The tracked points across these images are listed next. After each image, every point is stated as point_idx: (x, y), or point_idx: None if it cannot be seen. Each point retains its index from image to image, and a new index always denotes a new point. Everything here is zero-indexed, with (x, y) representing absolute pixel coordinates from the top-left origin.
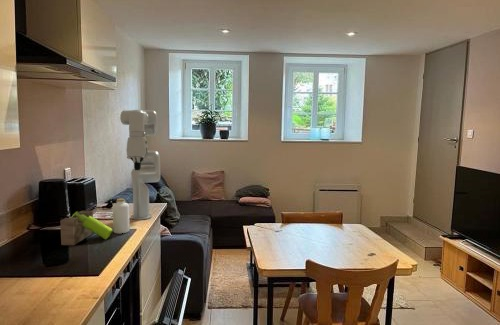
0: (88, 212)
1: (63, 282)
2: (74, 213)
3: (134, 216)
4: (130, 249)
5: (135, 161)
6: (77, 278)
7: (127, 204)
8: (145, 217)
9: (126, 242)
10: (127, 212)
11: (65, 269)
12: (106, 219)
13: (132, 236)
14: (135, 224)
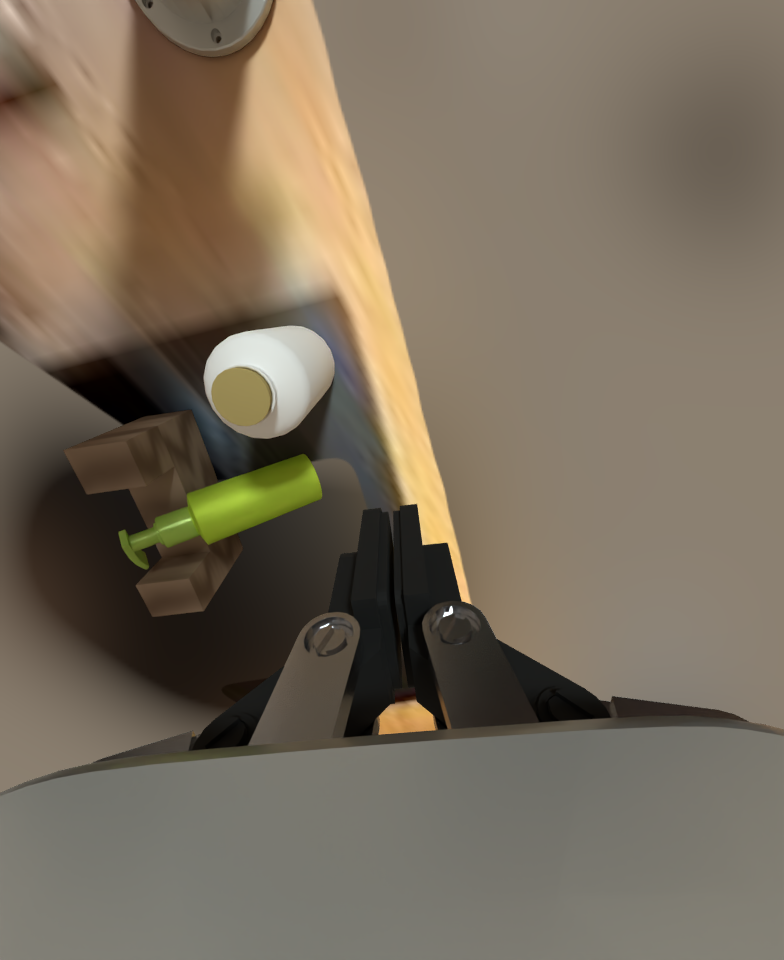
0: (134, 475)
1: (407, 721)
2: (130, 557)
3: (168, 7)
4: (451, 545)
5: (378, 717)
6: (422, 706)
7: (298, 381)
8: (260, 7)
9: (401, 487)
10: (317, 387)
11: None
12: (16, 105)
13: (384, 414)
14: (279, 193)
